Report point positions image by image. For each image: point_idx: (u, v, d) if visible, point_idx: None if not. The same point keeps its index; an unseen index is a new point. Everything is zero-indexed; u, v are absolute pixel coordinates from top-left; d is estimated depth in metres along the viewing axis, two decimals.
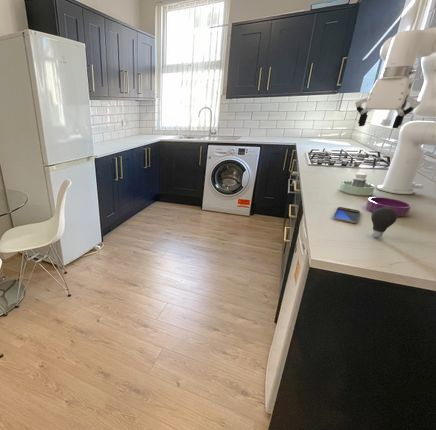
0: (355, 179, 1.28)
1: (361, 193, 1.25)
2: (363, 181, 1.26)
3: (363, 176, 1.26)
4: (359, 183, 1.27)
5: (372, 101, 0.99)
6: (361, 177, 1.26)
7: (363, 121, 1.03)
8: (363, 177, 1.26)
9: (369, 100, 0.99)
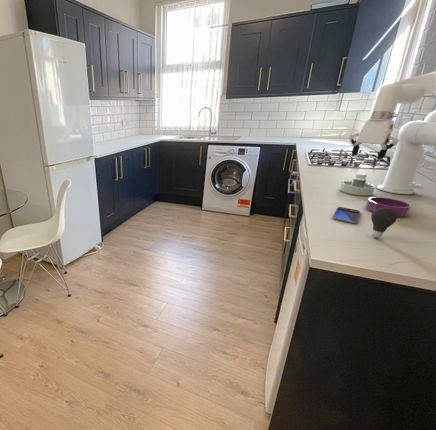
0: (355, 179, 1.28)
1: (361, 193, 1.25)
2: (363, 181, 1.26)
3: (363, 176, 1.26)
4: (359, 183, 1.27)
5: (362, 136, 1.23)
6: (361, 177, 1.26)
7: (355, 151, 1.27)
8: (363, 177, 1.26)
9: (360, 135, 1.23)
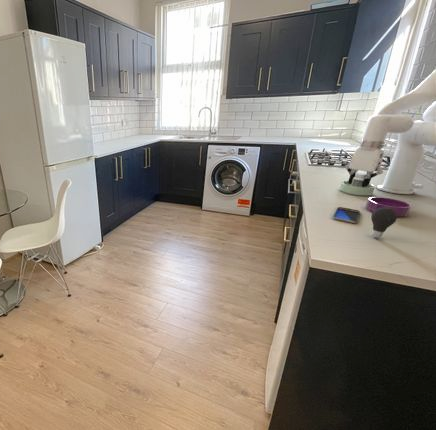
0: (355, 179, 1.28)
1: (361, 193, 1.25)
2: (363, 181, 1.26)
3: (363, 176, 1.26)
4: (359, 183, 1.27)
5: (354, 163, 1.27)
6: (361, 177, 1.26)
7: None
8: (363, 177, 1.26)
9: (351, 162, 1.28)
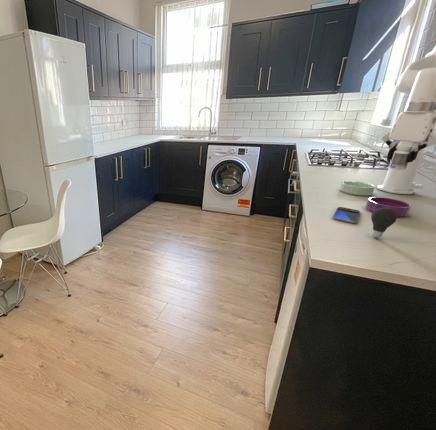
0: (397, 153, 1.02)
1: (361, 193, 1.25)
2: (408, 155, 1.00)
3: (408, 149, 1.00)
4: (402, 158, 1.01)
5: (396, 132, 1.01)
6: (405, 150, 1.00)
7: (392, 155, 1.04)
8: (408, 150, 1.00)
9: (392, 131, 1.02)
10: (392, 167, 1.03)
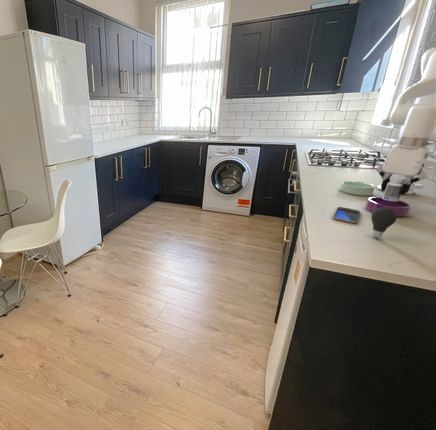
0: (390, 185, 1.03)
1: (361, 193, 1.25)
2: (401, 187, 1.02)
3: (401, 181, 1.01)
4: (395, 190, 1.02)
5: (389, 165, 1.03)
6: (398, 182, 1.02)
7: None
8: (401, 182, 1.01)
9: (386, 164, 1.03)
10: (385, 198, 1.05)
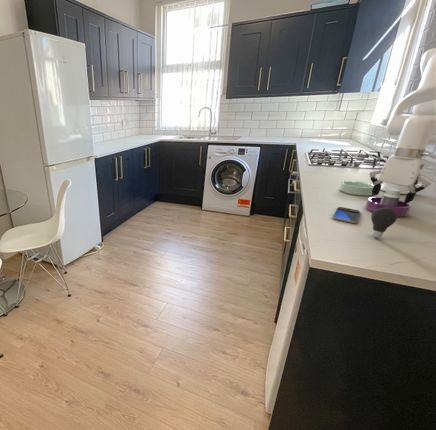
0: (386, 196, 1.05)
1: (361, 193, 1.25)
2: (396, 199, 1.03)
3: (396, 193, 1.03)
4: (390, 201, 1.04)
5: (385, 175, 1.04)
6: (394, 194, 1.03)
7: (376, 191, 1.09)
8: (396, 194, 1.03)
9: (382, 174, 1.05)
10: None
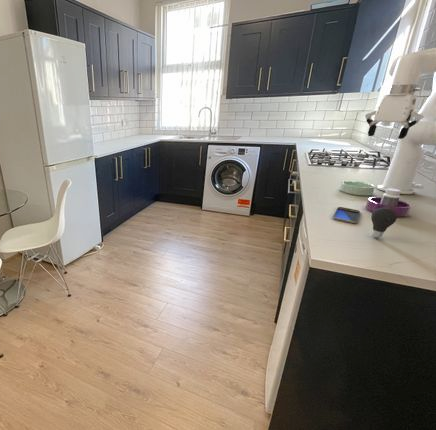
0: (386, 196, 1.05)
1: (361, 193, 1.25)
2: (396, 199, 1.03)
3: (396, 193, 1.03)
4: (390, 201, 1.04)
5: (380, 114, 1.10)
6: (394, 194, 1.03)
7: (372, 132, 1.15)
8: (396, 194, 1.03)
9: (377, 113, 1.11)
10: None
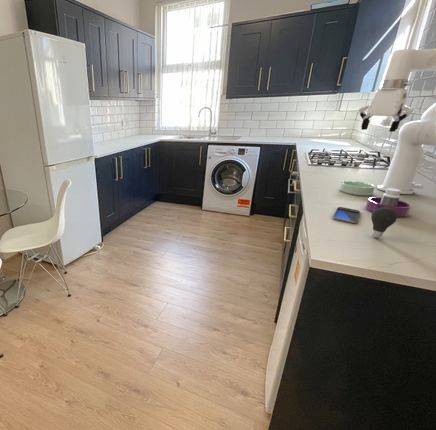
0: (386, 196, 1.05)
1: (361, 193, 1.25)
2: (396, 199, 1.03)
3: (396, 193, 1.03)
4: (390, 201, 1.04)
5: (373, 108, 1.15)
6: (394, 194, 1.03)
7: (365, 125, 1.20)
8: (396, 194, 1.03)
9: (370, 107, 1.16)
10: None
